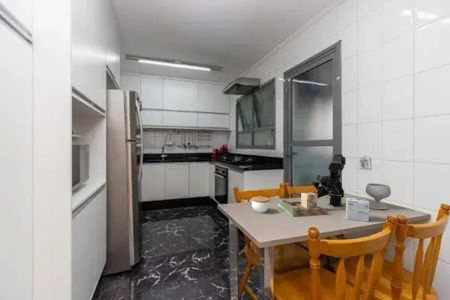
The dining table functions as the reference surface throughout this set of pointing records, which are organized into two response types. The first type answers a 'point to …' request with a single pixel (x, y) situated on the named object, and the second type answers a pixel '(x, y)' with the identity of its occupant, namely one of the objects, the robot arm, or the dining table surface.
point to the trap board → (299, 209)
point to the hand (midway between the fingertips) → (316, 198)
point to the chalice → (378, 194)
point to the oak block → (309, 200)
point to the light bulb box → (357, 209)
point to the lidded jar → (260, 204)
